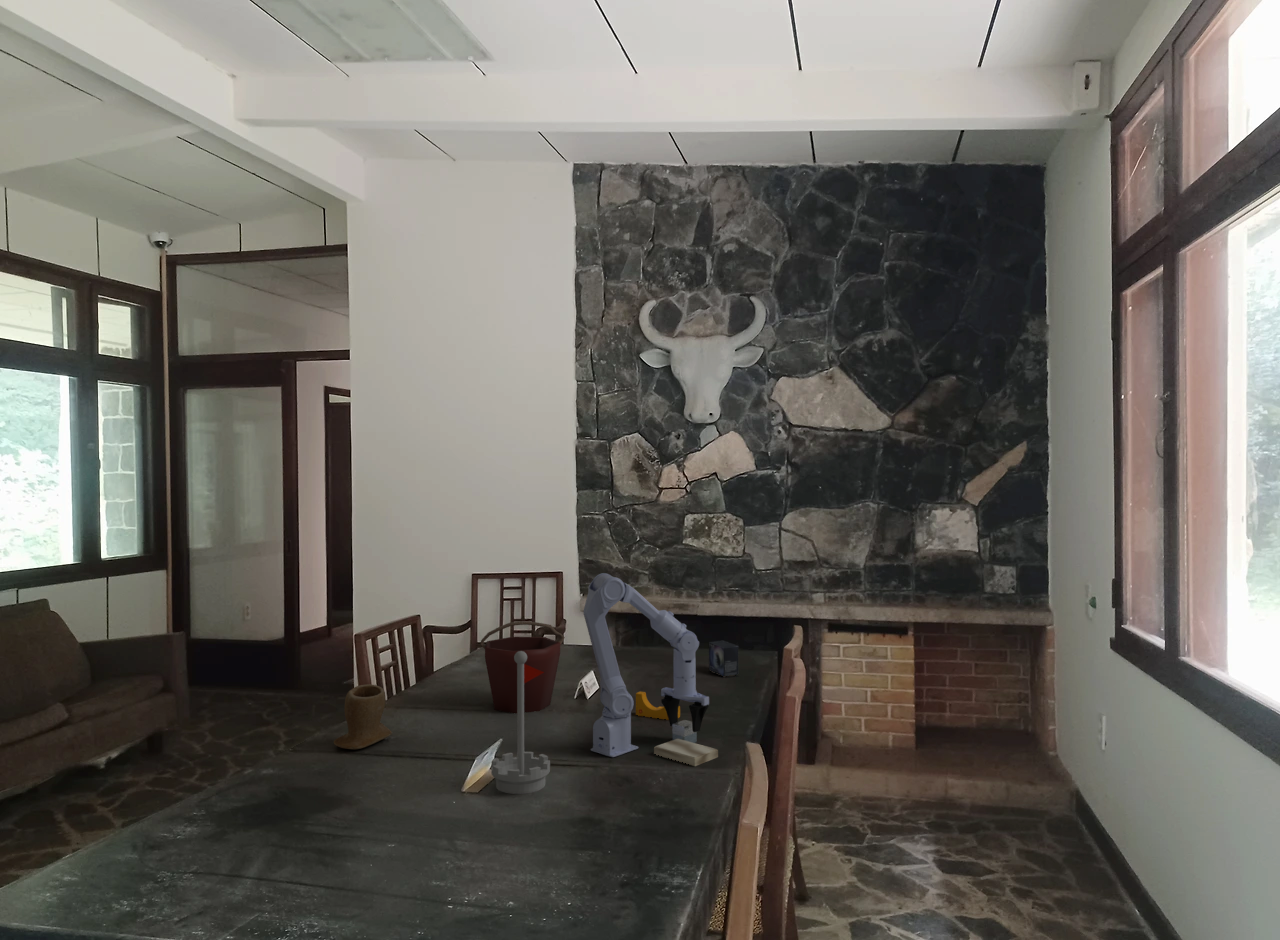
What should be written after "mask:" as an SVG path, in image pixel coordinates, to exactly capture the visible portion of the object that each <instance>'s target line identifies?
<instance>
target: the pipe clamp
mask: <svg viewBox="0 0 1280 940" xmlns="http://www.w3.org/2000/svg"><path fill="white" fill-rule="evenodd" d="M636 715H638V717H643V716H645V718H650V717H652V718H651V719H657V718H659V720H664V719H666V721H669V718H668V715H667V712H666V710H665V708H664V706H660V705H659V706H658V707H656V706H654V705H653V704H651V703H650V701H649V700H648V697H647V693H646V691H638V692H636V693H635V716H636ZM680 717H681V706H680V705H679V707H678V719H679V718H680Z"/></svg>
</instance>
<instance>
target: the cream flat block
mask: <svg viewBox="0 0 1280 940" xmlns="http://www.w3.org/2000/svg"><path fill="white" fill-rule="evenodd" d="M654 754H656V755H655V756H658V755H659V756H658V757H661V756H662V758H665V759H668V758H669V759H668V760H671V759H672V761H675V760H676V761H675V762H678V761H679V762H678V763H682V762H683V763H682V764H685V763H686V764H685V765H688V764H689V766H693V767H697V766H700V765H702V764H704V763H706V762H709V761H712V760H714V759H717V758H719V749H717V748H713V747H710V746H707V745H702V744H698V743H697V742H695V743H692V742H689V741H685V740H681V739H675V740H670V741H667V742H664V743H661V744H658V745H656V746H654V747H653V755H654Z"/></svg>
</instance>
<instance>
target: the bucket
mask: <svg viewBox="0 0 1280 940" xmlns="http://www.w3.org/2000/svg"><path fill="white" fill-rule="evenodd" d="M523 625H524V626H527V625H528V626H536V627H541V628H546V629H548V630H549V631H550V632H551V633H552V634H553V636H556V639H551V638H548V637H545V636H509V637H504V638H498V639H492V640H488V639H489V637H490V636H492V635H494V634H496V633H498V632H499V631H502V630H504V629H507V628H509V627H511V626H513V627H514V626H523ZM565 637H566V636H564V635H563V634H562V633H560V632H558V631H557V630H556V629H555V628H554V626H552V624H548V623H542V622H536V621H513V622H508V623H505V624H503V625H501V626H497V627H496V628H494V629H493V630H491V631H489V632H487V633H486V634H485V636H483V638H481V640H480V643H479V644H480V646H481V647H482V648H483V649H484V660H485V661H484V662H485V664H486V671H487V675H488V681H489V686H490V691H491V696H492V697H491V698H492V702H493V708H494V711H499V712H503V713H509V712H510V713H509V714H514V713H515V714H517V663H516V662H515V660H514V656H515V654H516V653H517V652H518V651H523V652H525V653H526V654H527V660H526V662H525V663H524V664H526V665H528V666H530V667H533V668H535V669H537V670H540V671H542V672H544V673H542V674H540V675H538V676H537V677H535V678H533V679H531V680H530V681H528V682H526V683H524V714H525V712H526V713H533V712H534V711H536V712H541V711H542V710H544V709H546V708H548V707H549V706H550V705H551V702H552V697H553V693H554V688H555V682H556V678H557V671H558V666H559V661H560V658H561V657H560V656H561V645H562V643H563V642H564V640H565ZM486 640H487V641H486ZM484 642H485V643H484ZM548 705H549V706H548ZM545 707H546V708H545ZM540 710H541V711H540Z"/></svg>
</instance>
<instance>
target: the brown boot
mask: <svg viewBox="0 0 1280 940" xmlns="http://www.w3.org/2000/svg"><path fill="white" fill-rule="evenodd" d="M385 706H386V691H385V690H384V688H383V687H381V686H379V685H376V684H370V683H368V684H361V685H357V686H355V687H353V688H351V689H350V690H349V691H348V692H347V693H346V695H345V699H344V707H343V708H344V717H345V721H346V724H347V729H348V730H347V733H345V734H344V735H341V736H339V737H337V738H335V740H333V744H334V745H335V746H336V747H338V748H341V749H346V750H359V749H364V748H367V747H369V746H371V745H374V744H376V743H378V742H380V741H382V740H384V739H386V738H388V737H390V736H392V735H393V731H391V729H389V728H388V727H387V726H386V725H384V723H382V722H381V720H382V716H383V713H384V710H385Z"/></svg>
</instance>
